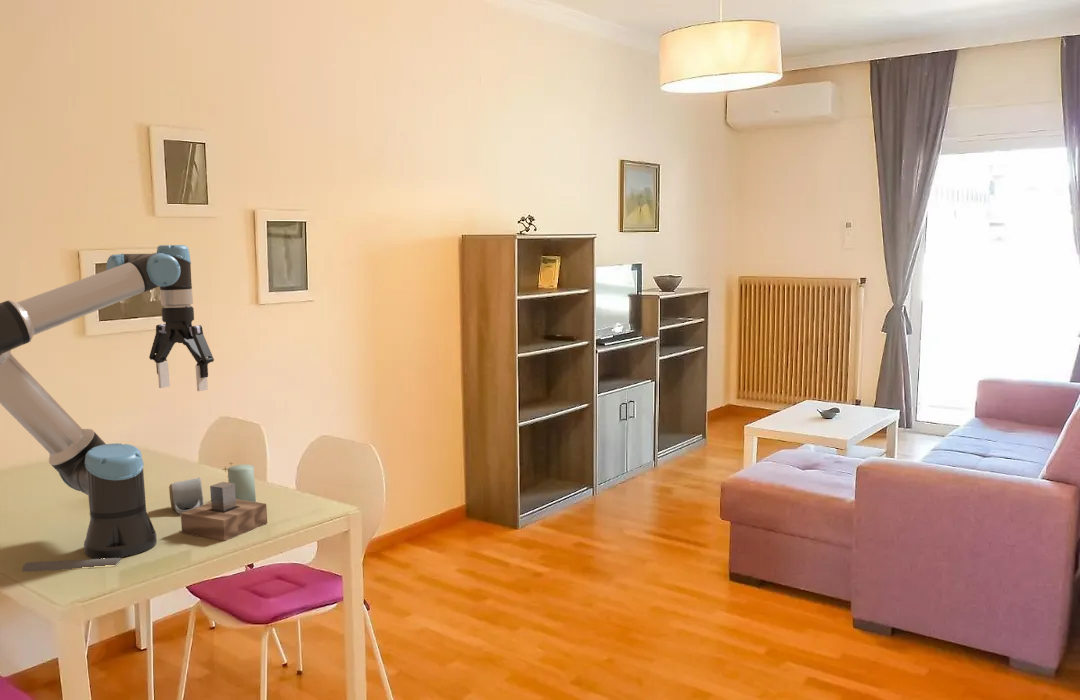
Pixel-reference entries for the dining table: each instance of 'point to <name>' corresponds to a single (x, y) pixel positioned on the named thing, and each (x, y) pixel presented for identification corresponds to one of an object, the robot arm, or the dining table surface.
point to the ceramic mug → (186, 495)
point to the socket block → (224, 520)
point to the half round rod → (68, 564)
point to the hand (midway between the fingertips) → (183, 388)
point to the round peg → (243, 481)
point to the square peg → (223, 497)
